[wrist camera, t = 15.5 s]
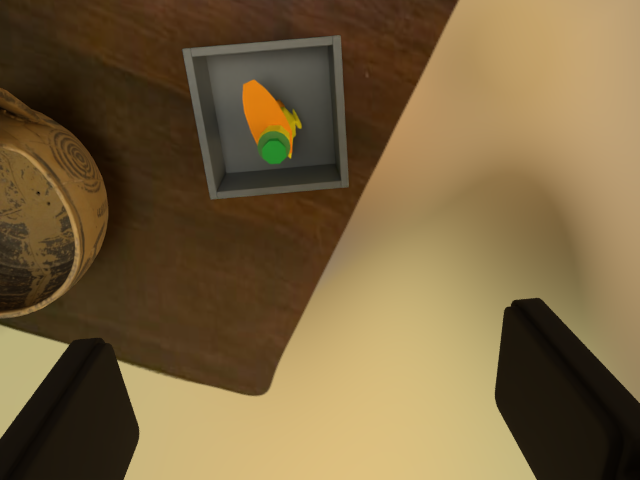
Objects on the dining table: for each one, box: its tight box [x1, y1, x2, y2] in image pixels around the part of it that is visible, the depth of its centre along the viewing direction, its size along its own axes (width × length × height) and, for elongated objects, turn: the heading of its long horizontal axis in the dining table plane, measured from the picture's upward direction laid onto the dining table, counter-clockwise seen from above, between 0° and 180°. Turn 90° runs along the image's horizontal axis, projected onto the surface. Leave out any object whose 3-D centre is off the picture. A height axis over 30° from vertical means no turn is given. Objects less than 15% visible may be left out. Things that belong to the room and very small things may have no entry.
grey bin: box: [182, 35, 349, 199], centre depth 36 cm, size 11×11×6 cm
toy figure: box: [242, 80, 302, 164], centre depth 33 cm, size 7×4×12 cm, turn 23°
